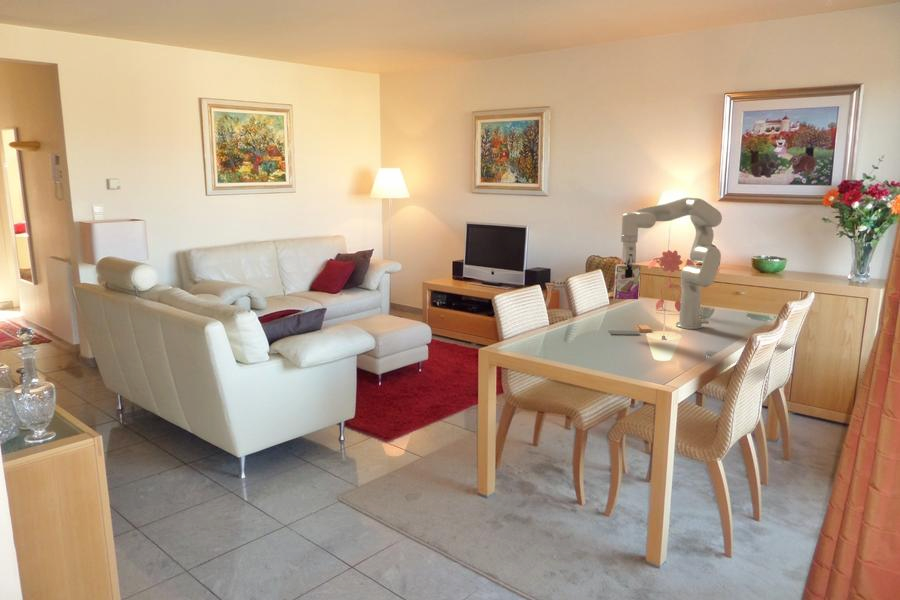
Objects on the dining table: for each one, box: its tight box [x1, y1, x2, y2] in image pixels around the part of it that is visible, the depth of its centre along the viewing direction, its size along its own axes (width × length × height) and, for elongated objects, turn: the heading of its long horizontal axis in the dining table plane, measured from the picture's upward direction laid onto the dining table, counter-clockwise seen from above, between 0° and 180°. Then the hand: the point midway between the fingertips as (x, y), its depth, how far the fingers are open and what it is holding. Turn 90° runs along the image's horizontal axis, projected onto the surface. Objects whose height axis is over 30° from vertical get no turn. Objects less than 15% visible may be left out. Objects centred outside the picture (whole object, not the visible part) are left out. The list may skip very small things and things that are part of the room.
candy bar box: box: [613, 263, 641, 300], centre depth 319 cm, size 11×5×16 cm, turn 84°
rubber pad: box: [608, 329, 641, 336], centre depth 324 cm, size 14×7×1 cm, turn 87°
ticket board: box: [635, 324, 652, 333], centre depth 330 cm, size 6×8×2 cm
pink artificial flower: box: [647, 249, 695, 316], centre depth 368 cm, size 15×26×35 cm, turn 56°
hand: (627, 276), depth 318 cm, fingers closed on candy bar box, 5 cm apart
